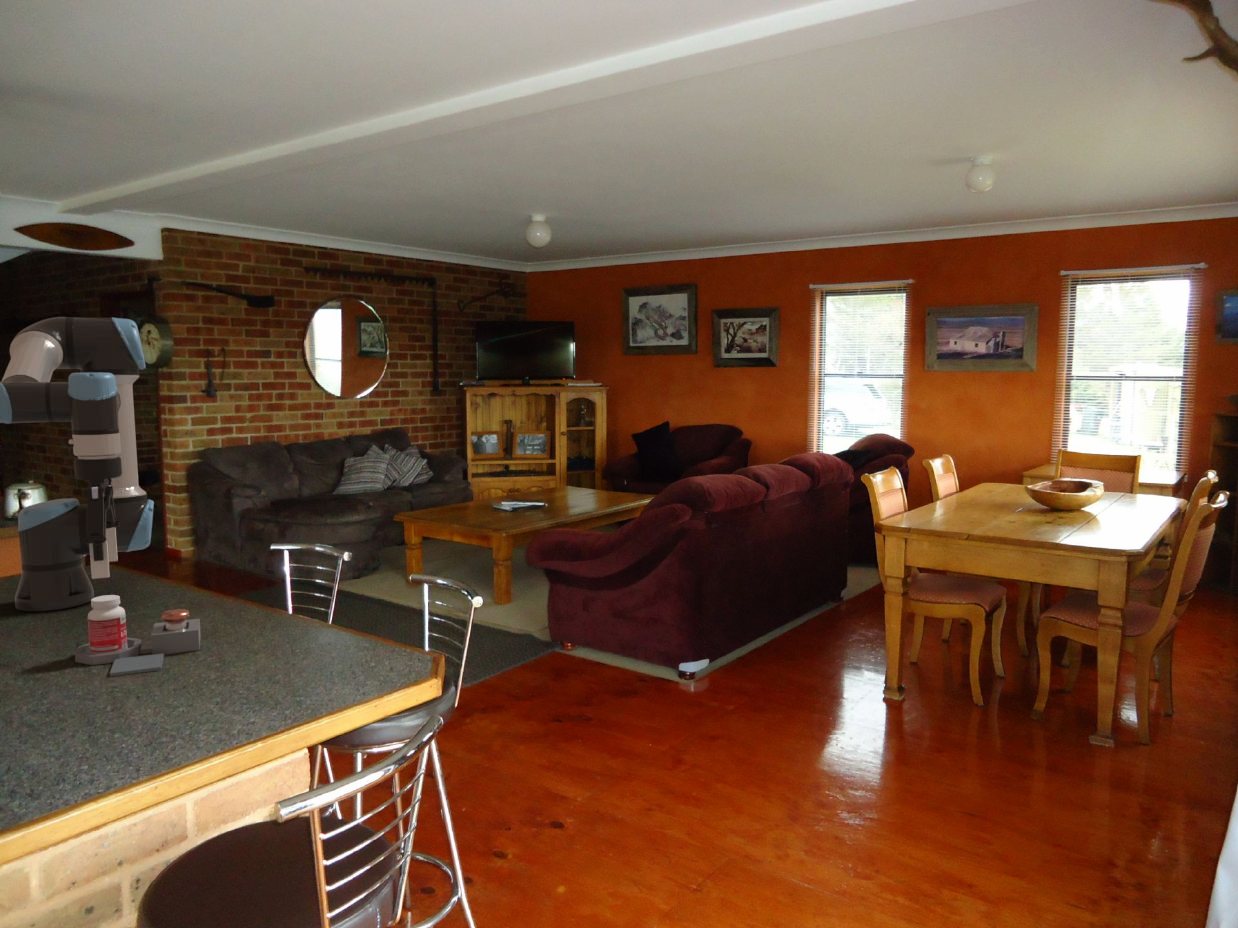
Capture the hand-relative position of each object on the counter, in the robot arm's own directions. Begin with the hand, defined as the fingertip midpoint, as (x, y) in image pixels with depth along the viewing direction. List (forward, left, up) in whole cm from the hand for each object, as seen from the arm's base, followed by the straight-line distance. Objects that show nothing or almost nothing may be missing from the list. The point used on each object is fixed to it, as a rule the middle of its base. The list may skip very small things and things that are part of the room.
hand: (105, 569), depth 162 cm
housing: (0, +5, -16) cm, 17 cm away
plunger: (0, +11, -16) cm, 19 cm away
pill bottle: (0, 0, -17) cm, 17 cm away
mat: (+9, +5, -16) cm, 20 cm away
